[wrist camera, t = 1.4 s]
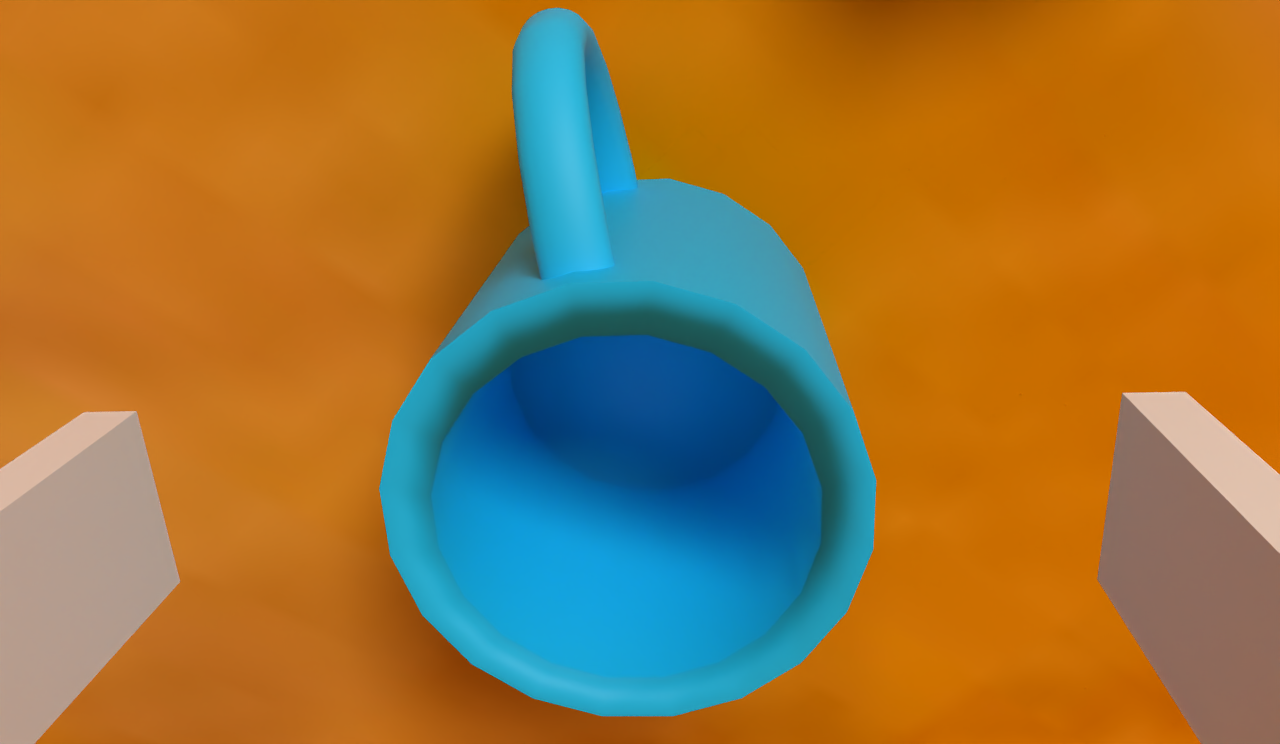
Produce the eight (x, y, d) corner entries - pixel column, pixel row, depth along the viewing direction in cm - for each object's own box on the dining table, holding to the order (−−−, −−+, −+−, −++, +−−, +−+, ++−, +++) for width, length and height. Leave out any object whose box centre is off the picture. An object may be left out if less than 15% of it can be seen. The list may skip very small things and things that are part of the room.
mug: (842, 470, 25) (904, 686, 17) (527, 519, 26) (454, 743, 18) (764, -40, 21) (802, -50, 13) (392, 43, 22) (227, 79, 14)
